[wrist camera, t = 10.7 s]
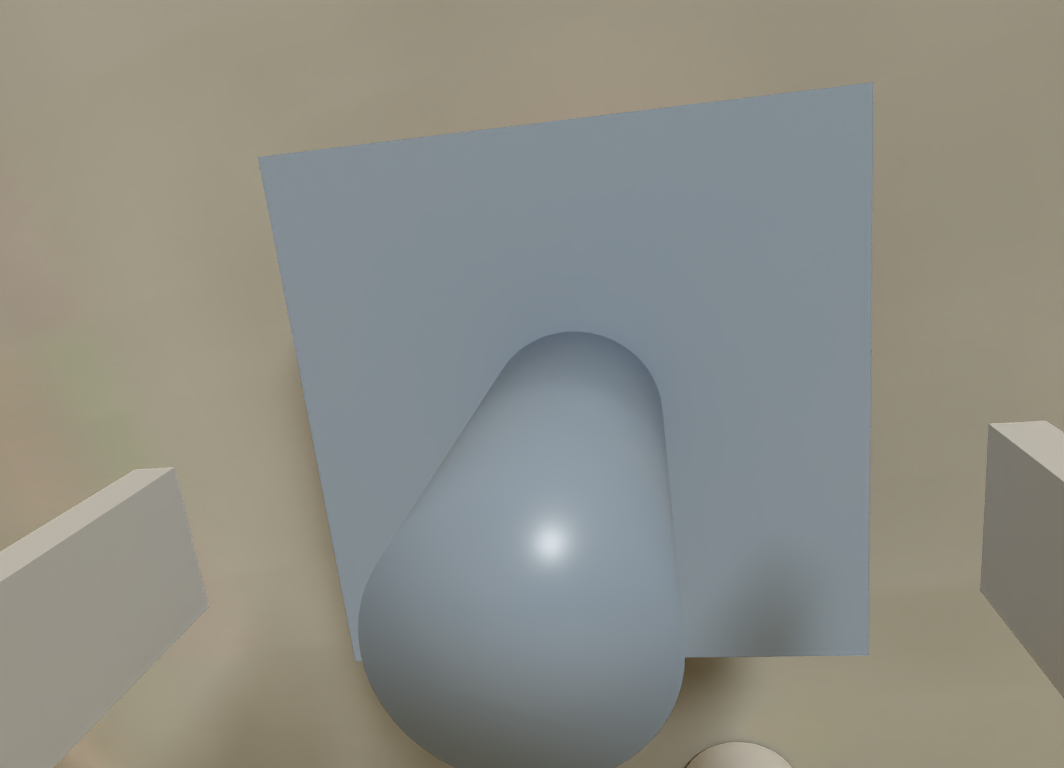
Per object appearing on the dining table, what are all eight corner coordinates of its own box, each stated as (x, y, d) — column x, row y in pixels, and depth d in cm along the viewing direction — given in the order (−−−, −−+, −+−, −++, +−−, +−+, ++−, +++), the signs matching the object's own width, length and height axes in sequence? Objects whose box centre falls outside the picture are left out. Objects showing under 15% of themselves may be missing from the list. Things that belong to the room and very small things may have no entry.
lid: (859, 87, 16) (1175, -17, 7) (857, 631, 20) (1064, 1076, 10) (277, 157, 18) (-118, 154, 9) (367, 639, 22) (154, 1017, 12)
